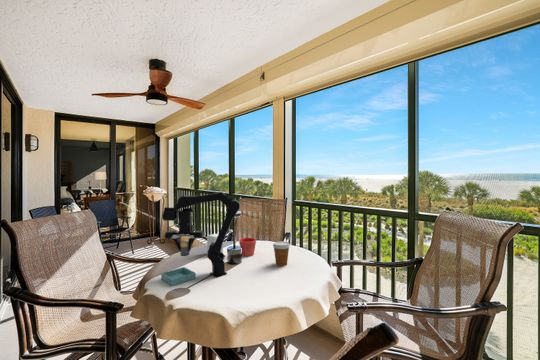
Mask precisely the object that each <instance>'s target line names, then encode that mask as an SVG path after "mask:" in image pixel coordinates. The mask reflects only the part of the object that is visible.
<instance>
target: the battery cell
mask: <svg viewBox="0 0 540 360" xmlns="http://www.w3.org/2000/svg"><path fill="white" fill-rule="evenodd" d="M179 252H180V254H179V255H180V256H181V257H188V256H190V255H191V253H190V252H191V250H190V251H189V239H188V240H187V239H184V240H181V242H180V251H179Z"/></svg>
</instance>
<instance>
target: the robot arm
mask: <svg viewBox="0 0 540 360" xmlns="http://www.w3.org/2000/svg"><path fill="white" fill-rule="evenodd" d="M217 201H220V202H221V203H223V204H224V206H225V207H227V209H226V215H225V218H224V221H223V224H222V226H221V227H220V230H219V232H218V233H217V234H218V237H217V239H216V242H215V243H213V242H212V243H211V245H210V247H209V250H208V251H207V250H206V254H207V253H208V255H207V259H208V260H209V261H210V263H211V266H212V268H211V269H212V270H211V271H212V272H210V273H209V274H210V275H211V276H213V277H215V278H218V277H221V276H225V275H228V271H227V272H226V271H225V268H226V267H225V265H226V264H225V261H224V260H225V258H226V255H225V254H224V252H223V253H222V252H221V250H222V245H223V246H224V241H225V238H226V236H227V234H228V231H229V229H230V227H231V224H232V222H233V219H234V217H236V214H237V213H238V211H239V210H240V208H241V203H240V201H239V200H238V199H233V198H232V197H230V196H228V195H227V194H226V193H225V192H222V191H220V192H216V193H210V194H202V195H183V196H180V197H179V198H178V199H177V203H176V205H175V206H174V207H168V206H166V207H164V209H163V212H162V215H161V216H162V220H163V221H164V222H165V221H167V222H170V221H171V222H173V221H174V222H175V221H177V220H178V223H177V226H178V231H177V230H168V231H166V232H165V233H164V239H171V240H172V241H173V242H174V244H175V245H176V247H177V249H178V251H179V252H180V242H181V241H182V237H189V238H188V241H189V251H190V252H191V250H192V247H193V245H194V242H195V240H197V239H202V238H204V237H205V235H206V234H205V231H204V230H196V231H195V225H194V224H193V223H192V221H191V218H192V215H191V214H192V213H194V212H195V211H196V210H195V209H194V208H193V205H198V204H203V203H210V202H217ZM188 207H189V208H188Z"/></svg>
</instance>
